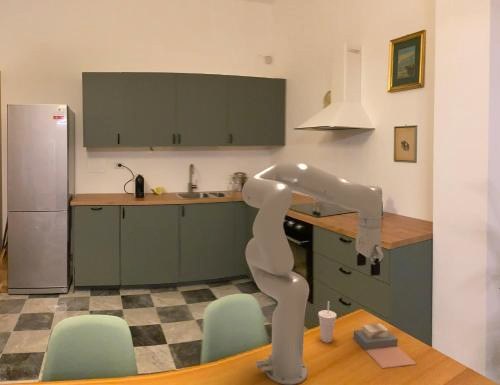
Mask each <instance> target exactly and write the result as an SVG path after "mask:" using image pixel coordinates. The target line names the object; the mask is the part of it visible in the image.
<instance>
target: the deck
mask: <svg viewBox="0 0 500 385" xmlns="http://www.w3.org/2000/svg"><path fill="white" fill-rule="evenodd" d="M352 337H353V338H352V339H353V340H354V341H355V342H356V343H357V344H358V345H359V346H360V347H361V348H362V350H364V351H365V350H369V349H378V348H386V347H395V346H397V347H398V341H399V340H398V338H397V337H396V336H395V335H394V334H392V333H391V332H389V330H388V337H383V338H374V339H369V338H368V337H367V336H366V335H365V334H364V333H363V332H362V329H357V330H356V329H355V330H353V336H352Z"/></svg>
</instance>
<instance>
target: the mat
mask: <svg viewBox="0 0 500 385" xmlns="http://www.w3.org/2000/svg"><path fill="white" fill-rule="evenodd" d="M364 351H365V352H366V353H367V354H368V356H369V357H370V358H371V359H372V360H373V361H374V362H375V363H376V364H377V365H378V366H379V367H380V368H381V369H383V370H385V369H386V370H387V369H394V368H399V367H400V368H401V367H409V366H415V365H417V363H416V362H415V360H413V359H412V358H411V357H410V356H409V355H408V354H407V353H405V352H404V351H403V350H402V349H401V348H400V347H399V346H398V345H397V346H395V347H386V348H378V349H369V350H364Z"/></svg>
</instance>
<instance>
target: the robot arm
mask: <svg viewBox="0 0 500 385" xmlns="http://www.w3.org/2000/svg"><path fill="white" fill-rule="evenodd" d="M242 186H243V187H242V189H241V196H242V197H241V198H242V199H243V201H244V202H245V203H246V205H248V206H250V207H252V208H256V209H259V210H258V213H257V214H256V216H255V219H254V222H253V223H252V224H253V225H252V235H253V237H252V238H251V239H249V241H248V242H247V245H246V246H245V247H246V248H245V252H244V255H245V259H246V260H245V261H246V264H247V266H248V268H249V271H250V272H251V275H252V277H253V279H254V282H255V283H256V286H257V288H258V289H259V290H260V292H262V293H264V294H266V295H267V296H268V297H270V298H272V299H274V300H276V301H277V306H276V307H275V309H274V311H273V313H272V319H271V354H269V355H268V358H265V360H256V361H255V368H256V369H260V368H261V372H265V374H266V375H267V377H268V378H269V379H270V380H271V381H273V382H275V383H278V384H281V385H296V384H300V383H302V382H304V381H305V380H306V379H307V377H308V368H307V366H306V365H305V364H304V363H303V360H304V359H303V358H304V339H305V338H304V337H305V336H304V335H305V314H306V306H307V303H308V299H309V295H310V294H309V293H310V286H309V283H308V281H307V279H305V278H304V277H303V276H302V275H300V274H299V273H297V272H294V271H292V270H293V268H294V265H295V264H294V263H295V259H294V254H293V252H292V248H291V247H290V243H289V241H288V238H287V236H286V233H285V232H286V231H285V229H284V220H285V218H286V214H287V213H288V211H289V209H290V207H291V205H292V201H293V192H297V193H300V194H302V195H306V196H308V197H311V198H313V199H317V200H319V201H322V202H325V203H328V204H333V205H339V206H340V207H341V208H342V209H344V210H347V211H353V212H357V213H358V214H357V216H358V217H357V218H358V219H357V222H358V223H357V224H358V225H357V229H356V236H355V250H356V254H357V255H356V265H357V266H358V267H361V266H366V265H367V258H370V261H371V263H370V273H369V275H370V276H373V277H374V276H380V275H381V265H382V263H383V259H384V257H385V256H384V253H383V252H382V230H381V227H382V212H383V211H382V210H383V209H382V208H383V189H382V188H381V187H379V186H377V185H363V184H360V183H359V182H358V183H357V182H354V181H351V180H348V179H346V178H343V177H340V176H337V175H333V174H331V173H330V172H329V173H328V172H327V171H324V170H322V169H320V168H317V167H315V166H314V165H311V164H308V163H305V162H301V161H289V160H288V161H287V160H282V161H279V162H277V163H275V164H273V165H270V166H269V167H268V168H265V169H264V170H263V171H260V172H259V173H256V174H255V175H254V176H252V177H250V178H248V180H246V181H245V182H244V184H243V185H242Z"/></svg>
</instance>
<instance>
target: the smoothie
mask: <svg viewBox="0 0 500 385" xmlns="http://www.w3.org/2000/svg"><path fill="white" fill-rule="evenodd" d="M317 316H318V319H319V331H320V340H321V341H322V342H324V343H330V342H332V339H333V335H334V329H335V323H336V319H337V318H338V317H337V313H336V312H335V311H332V310H330V301H327V309H323V310H320V311H318V314H317Z"/></svg>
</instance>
